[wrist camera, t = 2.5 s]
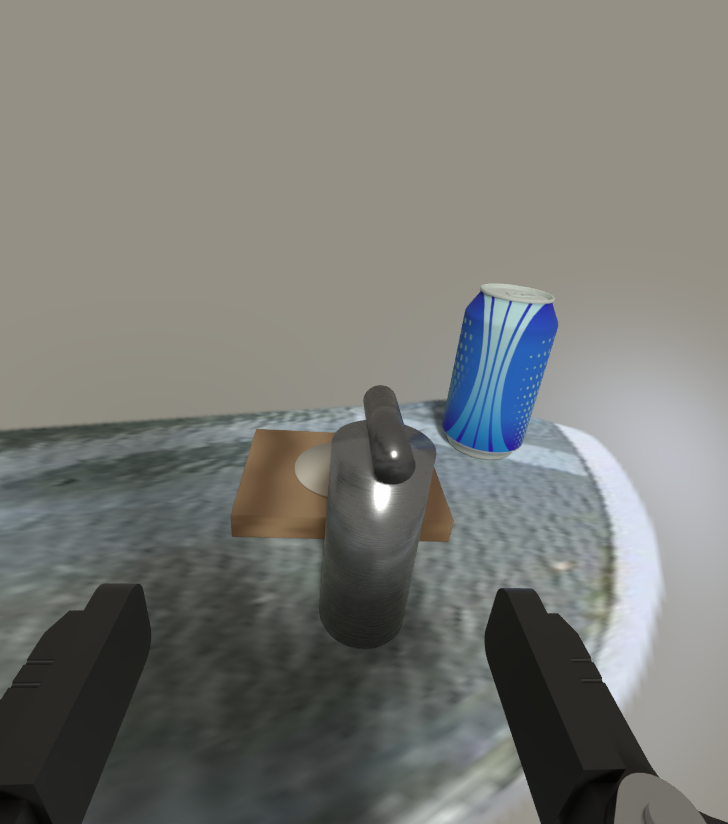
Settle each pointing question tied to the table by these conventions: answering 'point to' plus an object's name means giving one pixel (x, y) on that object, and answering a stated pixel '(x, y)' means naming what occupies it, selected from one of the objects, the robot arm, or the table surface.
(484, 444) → the beer can
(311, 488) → the block
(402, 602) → the grey cylinder
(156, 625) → the table surface
